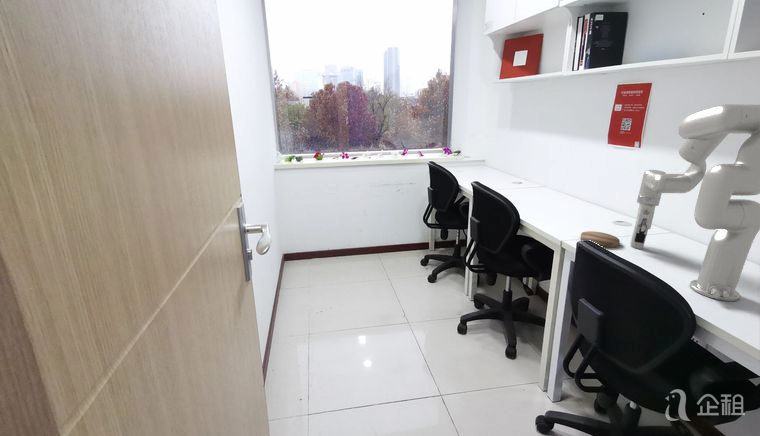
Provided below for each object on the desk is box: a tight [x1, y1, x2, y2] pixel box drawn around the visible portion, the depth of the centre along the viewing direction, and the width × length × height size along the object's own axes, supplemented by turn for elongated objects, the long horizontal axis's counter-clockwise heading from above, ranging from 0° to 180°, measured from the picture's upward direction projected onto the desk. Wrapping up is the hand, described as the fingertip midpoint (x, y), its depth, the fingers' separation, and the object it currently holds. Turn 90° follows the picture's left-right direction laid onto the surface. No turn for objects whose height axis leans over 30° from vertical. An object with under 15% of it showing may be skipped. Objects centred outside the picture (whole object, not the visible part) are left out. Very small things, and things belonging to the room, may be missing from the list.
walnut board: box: [579, 230, 621, 249], centre depth 165 cm, size 15×15×2 cm
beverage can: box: [629, 219, 649, 250], centre depth 158 cm, size 5×5×12 cm
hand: (638, 238), depth 158 cm, fingers open, 9 cm apart
